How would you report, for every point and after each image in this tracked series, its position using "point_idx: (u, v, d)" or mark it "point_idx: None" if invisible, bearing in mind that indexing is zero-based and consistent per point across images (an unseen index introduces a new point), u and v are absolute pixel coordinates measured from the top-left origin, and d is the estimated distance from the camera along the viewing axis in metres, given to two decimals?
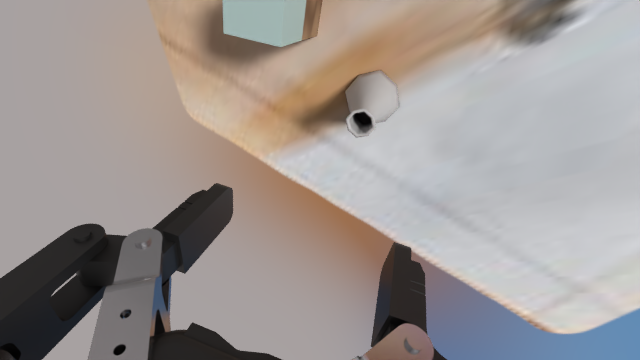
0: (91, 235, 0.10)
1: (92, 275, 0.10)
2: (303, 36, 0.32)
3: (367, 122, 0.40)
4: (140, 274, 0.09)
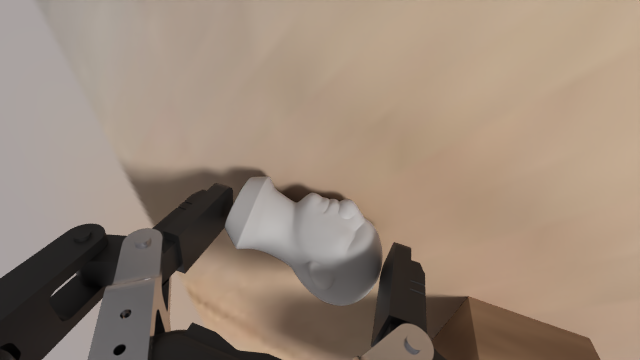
0: (91, 235, 0.10)
1: (92, 275, 0.10)
2: None
3: None
4: (140, 274, 0.09)
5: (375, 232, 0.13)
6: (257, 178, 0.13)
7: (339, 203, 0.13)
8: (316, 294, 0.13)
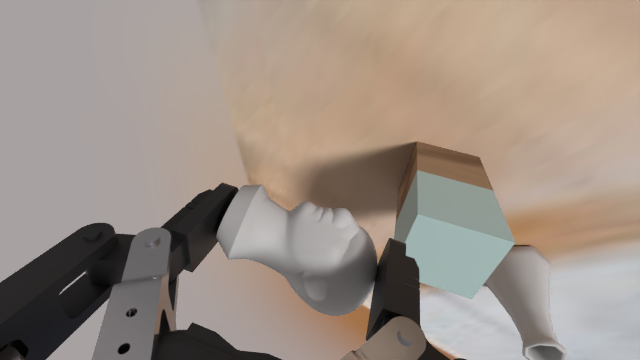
0: (101, 234, 0.10)
1: (101, 274, 0.10)
2: None
3: None
4: (148, 273, 0.09)
5: (370, 241, 0.13)
6: (249, 187, 0.13)
7: (333, 212, 0.13)
8: (310, 304, 0.13)
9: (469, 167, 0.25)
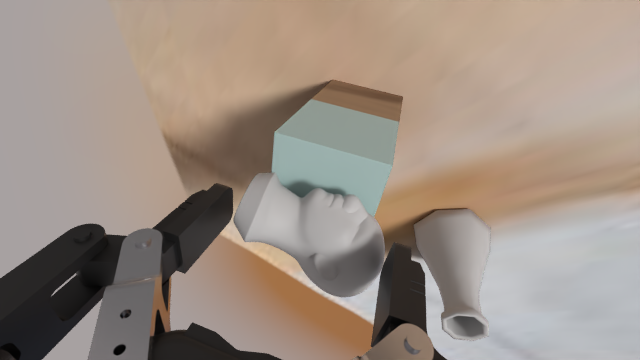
0: (91, 235, 0.10)
1: (92, 275, 0.10)
2: None
3: None
4: (140, 274, 0.09)
5: (378, 226, 0.14)
6: (264, 174, 0.14)
7: (343, 198, 0.13)
8: (321, 286, 0.14)
9: (383, 102, 0.21)
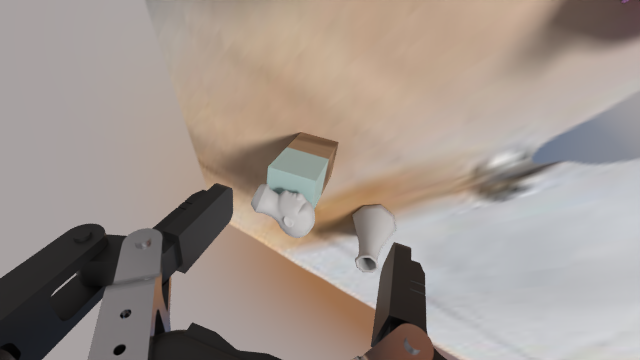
0: (91, 235, 0.10)
1: (92, 275, 0.10)
2: (322, 191, 0.41)
3: None
4: (140, 274, 0.09)
5: (310, 206, 0.33)
6: (263, 184, 0.33)
7: (296, 194, 0.32)
8: (287, 231, 0.33)
9: (324, 147, 0.40)
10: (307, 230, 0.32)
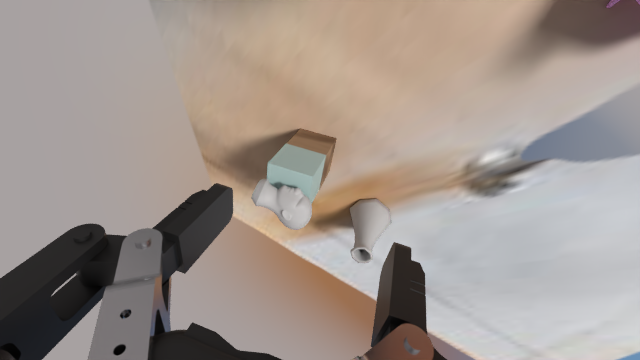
0: (91, 235, 0.10)
1: (92, 275, 0.10)
2: (320, 185, 0.42)
3: None
4: (140, 274, 0.09)
5: (308, 200, 0.34)
6: (263, 179, 0.34)
7: (294, 189, 0.34)
8: (285, 224, 0.35)
9: (323, 143, 0.42)
10: (304, 223, 0.34)
